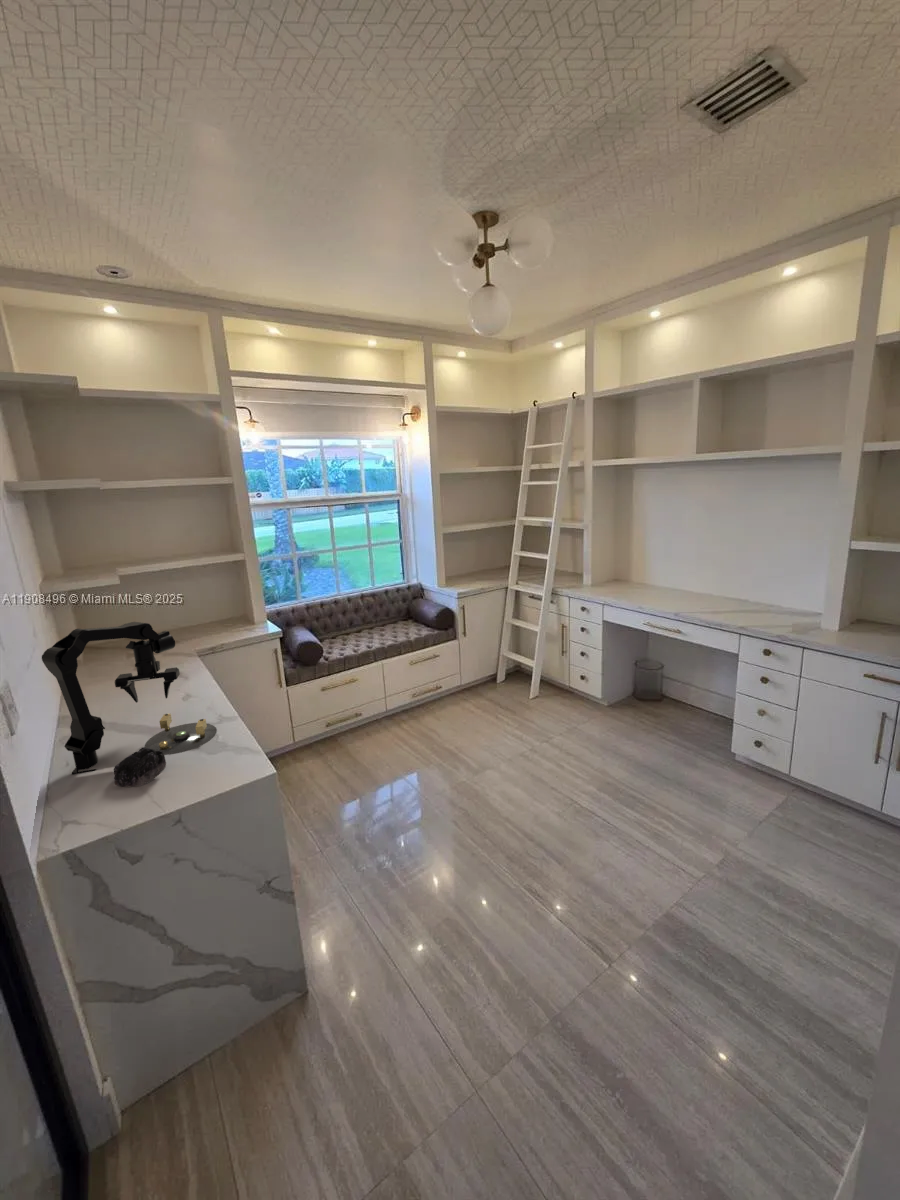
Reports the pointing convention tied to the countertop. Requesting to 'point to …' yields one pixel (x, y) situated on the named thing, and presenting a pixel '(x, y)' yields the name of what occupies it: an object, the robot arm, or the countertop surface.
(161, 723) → the knob far
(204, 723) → the knob near
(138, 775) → the crystal cluster
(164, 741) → the levelling plate
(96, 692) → the countertop surface
